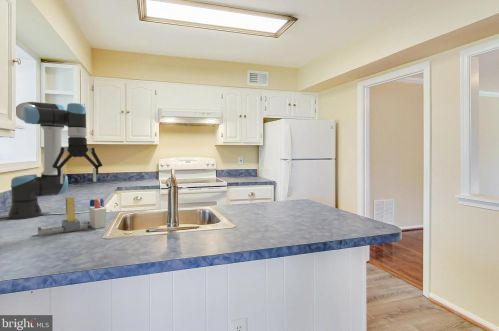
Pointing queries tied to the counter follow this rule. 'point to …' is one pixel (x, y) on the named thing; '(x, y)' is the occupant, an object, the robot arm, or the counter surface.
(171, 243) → the counter surface
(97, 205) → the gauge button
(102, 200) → the beverage can
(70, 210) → the carriage
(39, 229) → the rail
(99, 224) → the end cabinet
